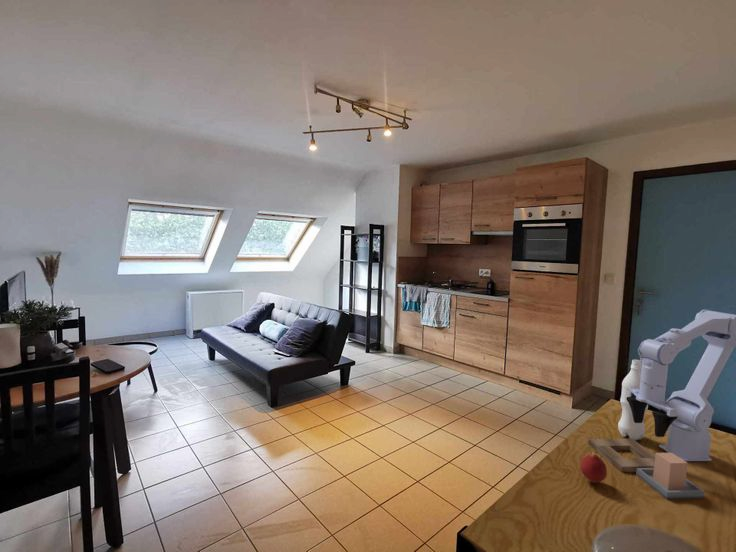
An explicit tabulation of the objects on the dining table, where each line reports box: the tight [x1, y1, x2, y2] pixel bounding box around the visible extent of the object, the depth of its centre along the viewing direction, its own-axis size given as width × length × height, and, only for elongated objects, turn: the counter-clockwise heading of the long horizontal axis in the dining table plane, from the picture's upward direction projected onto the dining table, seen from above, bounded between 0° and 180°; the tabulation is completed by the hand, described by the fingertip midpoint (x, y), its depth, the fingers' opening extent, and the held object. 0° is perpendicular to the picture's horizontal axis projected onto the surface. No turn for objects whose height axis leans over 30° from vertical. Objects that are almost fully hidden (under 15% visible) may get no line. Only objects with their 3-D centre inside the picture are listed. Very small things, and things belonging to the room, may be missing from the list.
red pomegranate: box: [580, 452, 608, 484], centre depth 96 cm, size 6×6×8 cm
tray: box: [635, 468, 706, 500], centre depth 96 cm, size 10×10×2 cm
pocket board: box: [587, 438, 655, 473], centre depth 108 cm, size 14×14×2 cm
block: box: [653, 452, 689, 490], centre depth 95 cm, size 4×4×7 cm
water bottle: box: [617, 359, 649, 441], centre depth 119 cm, size 7×7×25 cm
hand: (648, 429), depth 106 cm, fingers open, 7 cm apart
